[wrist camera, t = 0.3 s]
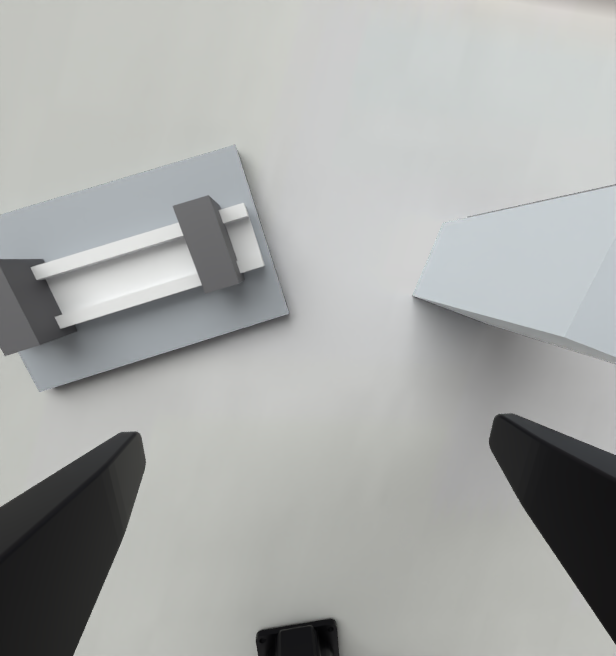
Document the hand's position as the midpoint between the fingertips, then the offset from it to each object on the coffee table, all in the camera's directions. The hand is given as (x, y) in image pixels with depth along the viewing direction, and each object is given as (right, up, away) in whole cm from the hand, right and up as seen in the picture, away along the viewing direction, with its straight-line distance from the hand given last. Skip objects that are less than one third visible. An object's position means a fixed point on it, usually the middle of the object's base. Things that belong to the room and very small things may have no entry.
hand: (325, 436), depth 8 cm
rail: (-11, +6, +12) cm, 17 cm away
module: (+10, +6, +14) cm, 18 cm away
